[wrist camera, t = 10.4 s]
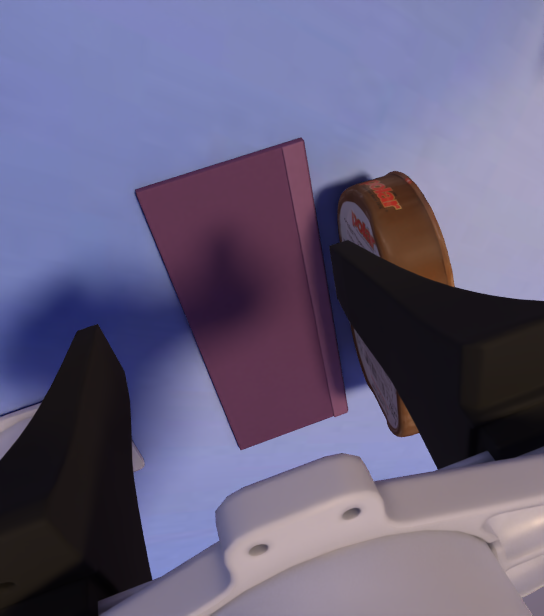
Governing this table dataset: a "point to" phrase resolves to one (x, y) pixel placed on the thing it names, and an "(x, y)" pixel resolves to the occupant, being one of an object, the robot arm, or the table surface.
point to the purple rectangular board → (253, 287)
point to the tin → (393, 261)
